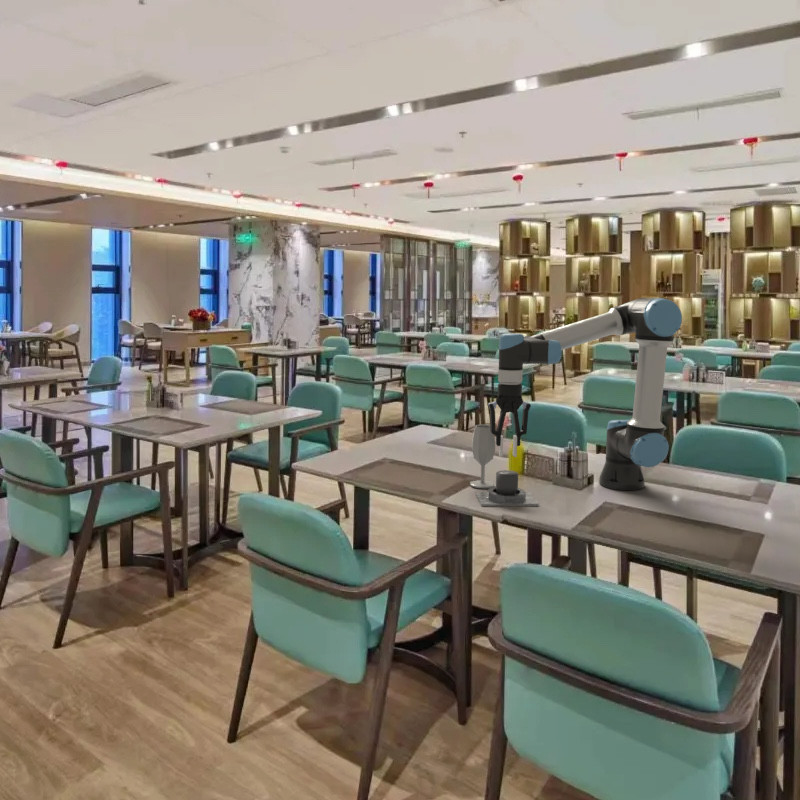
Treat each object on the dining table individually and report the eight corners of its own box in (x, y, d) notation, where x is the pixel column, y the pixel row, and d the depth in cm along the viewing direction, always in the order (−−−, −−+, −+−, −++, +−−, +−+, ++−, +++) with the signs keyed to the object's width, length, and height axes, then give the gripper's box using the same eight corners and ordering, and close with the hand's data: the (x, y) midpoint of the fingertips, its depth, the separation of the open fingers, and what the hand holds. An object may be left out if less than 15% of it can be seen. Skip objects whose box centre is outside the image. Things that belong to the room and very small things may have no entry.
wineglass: (475, 490, 249) (476, 428, 246) (466, 483, 257) (467, 424, 254) (499, 488, 251) (501, 427, 248) (489, 482, 259) (491, 423, 256)
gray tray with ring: (529, 494, 244) (529, 485, 243) (538, 506, 231) (538, 496, 230) (475, 494, 243) (475, 485, 242) (481, 506, 230) (481, 496, 230)
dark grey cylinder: (515, 494, 240) (516, 470, 239) (519, 500, 233) (520, 475, 232) (493, 494, 240) (494, 470, 239) (497, 500, 233) (498, 475, 232)
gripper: (533, 381, 235) (531, 453, 239) (481, 381, 235) (479, 453, 238) (539, 384, 228) (536, 458, 231) (485, 384, 227) (483, 458, 231)
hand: (507, 455), depth 235 cm, fingers open, 4 cm apart
